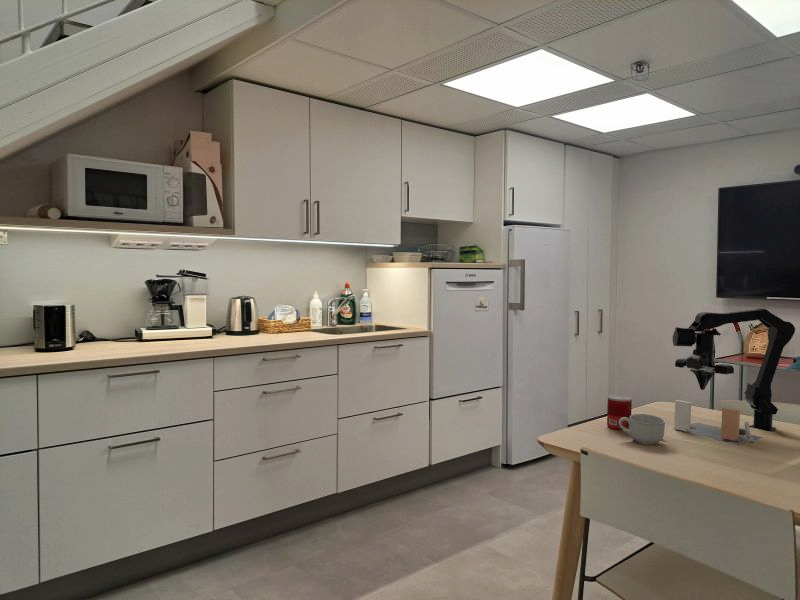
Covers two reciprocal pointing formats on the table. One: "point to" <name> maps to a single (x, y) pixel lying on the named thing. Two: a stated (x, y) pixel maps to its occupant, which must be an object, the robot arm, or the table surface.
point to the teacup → (644, 428)
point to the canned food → (618, 411)
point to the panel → (716, 433)
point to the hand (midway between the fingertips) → (702, 389)
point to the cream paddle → (682, 415)
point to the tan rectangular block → (730, 424)
